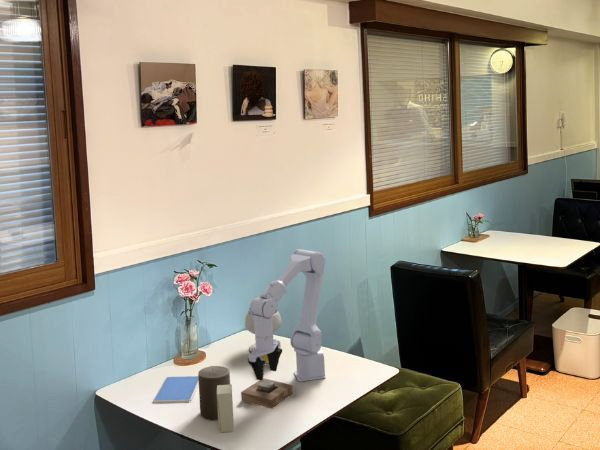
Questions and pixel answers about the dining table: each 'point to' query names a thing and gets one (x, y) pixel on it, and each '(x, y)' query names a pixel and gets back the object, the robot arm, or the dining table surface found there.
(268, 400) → the holder
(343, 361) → the dining table surface
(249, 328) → the chalice
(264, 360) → the supplement bottle
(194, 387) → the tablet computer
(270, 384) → the peg
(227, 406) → the skincare box
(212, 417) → the pillar candle
